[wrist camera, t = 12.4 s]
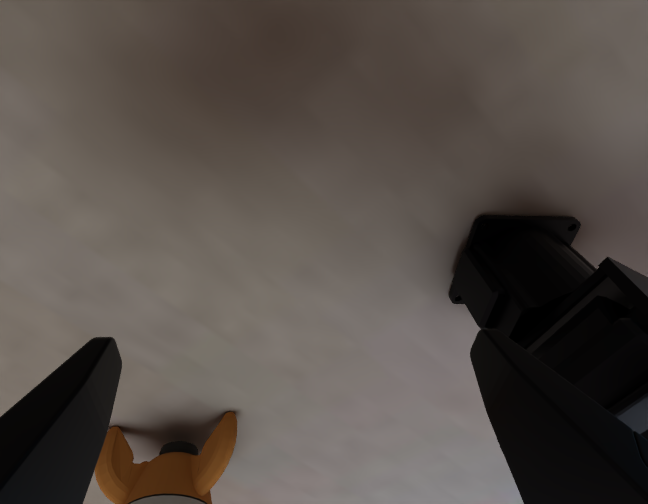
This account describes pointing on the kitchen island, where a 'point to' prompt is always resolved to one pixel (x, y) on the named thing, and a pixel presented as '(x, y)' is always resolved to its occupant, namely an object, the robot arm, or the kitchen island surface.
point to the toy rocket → (165, 468)
